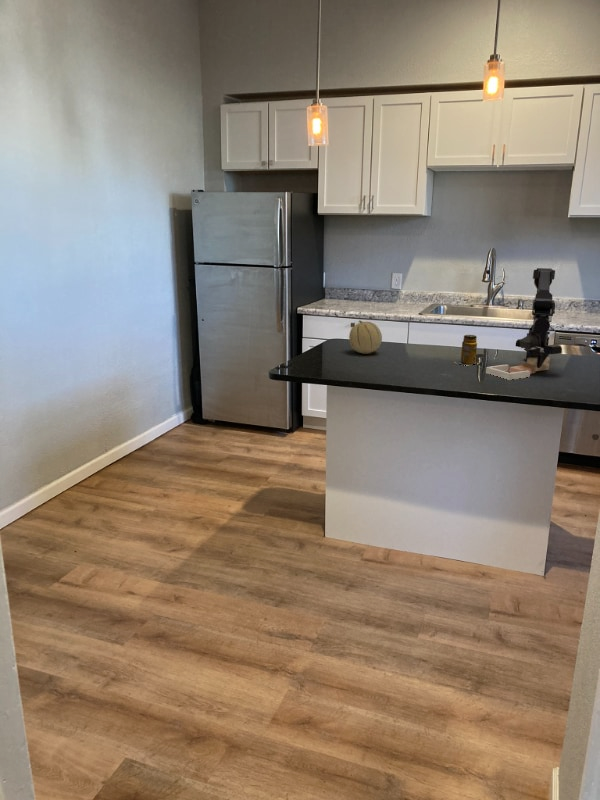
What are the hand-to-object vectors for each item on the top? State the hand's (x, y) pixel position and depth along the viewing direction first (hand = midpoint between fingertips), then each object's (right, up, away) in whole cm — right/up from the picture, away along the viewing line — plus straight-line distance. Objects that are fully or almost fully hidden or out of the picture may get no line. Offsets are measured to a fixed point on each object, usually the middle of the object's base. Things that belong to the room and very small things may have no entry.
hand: (535, 367), depth 245 cm
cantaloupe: (-65, +8, +32) cm, 73 cm away
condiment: (-24, +2, +14) cm, 28 cm away
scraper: (+1, -1, +1) cm, 2 cm away
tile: (-7, -3, -3) cm, 8 cm away
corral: (-13, -3, -6) cm, 15 cm away
